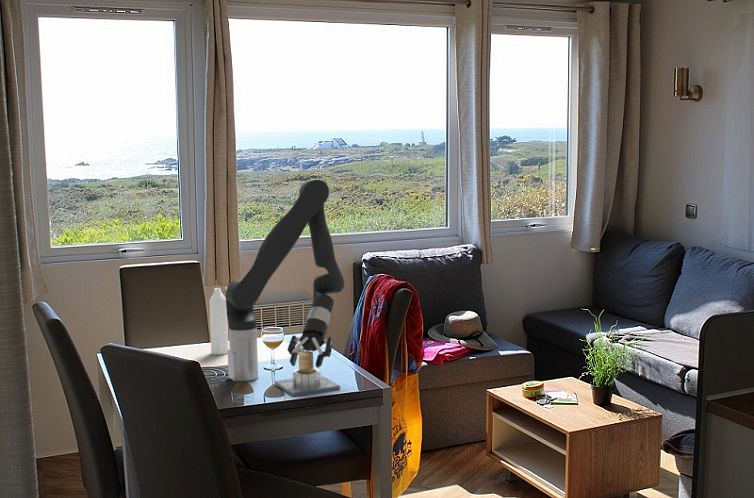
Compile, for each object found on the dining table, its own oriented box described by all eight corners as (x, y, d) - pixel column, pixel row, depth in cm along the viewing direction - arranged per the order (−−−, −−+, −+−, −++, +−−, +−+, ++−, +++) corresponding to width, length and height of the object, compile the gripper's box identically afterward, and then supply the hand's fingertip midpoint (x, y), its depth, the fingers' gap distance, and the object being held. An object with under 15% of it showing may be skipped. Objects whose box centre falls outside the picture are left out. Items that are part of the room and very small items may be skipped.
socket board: (293, 396, 270) (292, 380, 269) (274, 384, 284) (274, 369, 283) (339, 389, 277) (339, 373, 276) (319, 378, 291) (319, 362, 291)
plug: (302, 385, 277) (301, 355, 276) (297, 382, 281) (296, 352, 280) (315, 383, 279) (315, 353, 278) (310, 380, 283) (309, 350, 282)
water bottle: (212, 355, 326) (209, 289, 323) (210, 351, 332) (208, 287, 329) (235, 353, 328) (233, 288, 325) (233, 350, 334) (231, 285, 332)
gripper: (293, 316, 287) (280, 358, 278) (334, 318, 283) (322, 360, 273) (300, 328, 293) (287, 370, 283) (340, 330, 288) (328, 373, 279)
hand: (304, 365), depth 278 cm, fingers open, 8 cm apart
